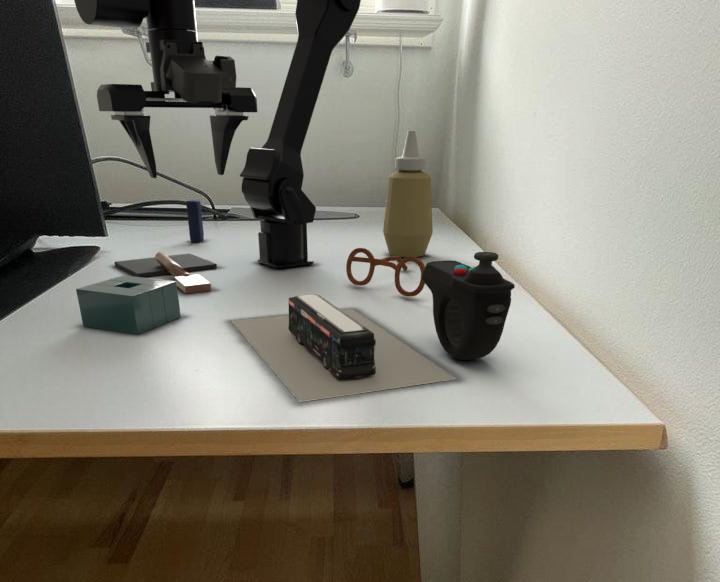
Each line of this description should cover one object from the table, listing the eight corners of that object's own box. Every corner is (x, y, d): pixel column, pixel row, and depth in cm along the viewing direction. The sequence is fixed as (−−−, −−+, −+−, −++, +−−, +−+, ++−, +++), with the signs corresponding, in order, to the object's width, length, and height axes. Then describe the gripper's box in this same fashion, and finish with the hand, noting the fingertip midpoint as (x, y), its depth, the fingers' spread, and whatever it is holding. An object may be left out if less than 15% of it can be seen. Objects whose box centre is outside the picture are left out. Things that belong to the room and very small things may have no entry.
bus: (299, 402, 53) (297, 351, 51) (231, 321, 74) (227, 282, 71) (456, 379, 58) (460, 332, 56) (351, 309, 78) (352, 272, 76)
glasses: (344, 285, 89) (344, 246, 87) (405, 270, 98) (407, 235, 95) (420, 302, 81) (422, 260, 79) (480, 285, 90) (483, 246, 87)
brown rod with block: (170, 249, 97) (210, 280, 85) (171, 260, 98) (211, 293, 86) (147, 251, 96) (184, 283, 84) (148, 262, 97) (185, 296, 85)
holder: (129, 309, 77) (123, 275, 76) (181, 317, 75) (176, 281, 73) (83, 326, 72) (75, 288, 70) (138, 334, 69) (131, 296, 67)
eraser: (193, 240, 119) (189, 199, 116) (205, 240, 119) (201, 199, 116) (189, 242, 117) (184, 200, 114) (201, 242, 117) (196, 201, 114)
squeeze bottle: (428, 261, 104) (435, 132, 95) (378, 258, 105) (380, 131, 97) (433, 251, 111) (441, 130, 102) (386, 249, 112) (389, 130, 104)
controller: (468, 378, 58) (479, 261, 54) (413, 338, 69) (418, 237, 64) (511, 372, 60) (525, 258, 55) (451, 334, 70) (458, 235, 65)
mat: (189, 257, 105) (189, 253, 105) (217, 268, 98) (216, 263, 98) (114, 265, 99) (114, 261, 99) (138, 278, 92) (137, 273, 92)
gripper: (116, 19, 68) (139, 185, 75) (275, 32, 77) (281, 178, 85) (84, 28, 76) (108, 177, 83) (232, 38, 85) (242, 171, 93)
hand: (188, 176), depth 86 cm, fingers open, 9 cm apart
